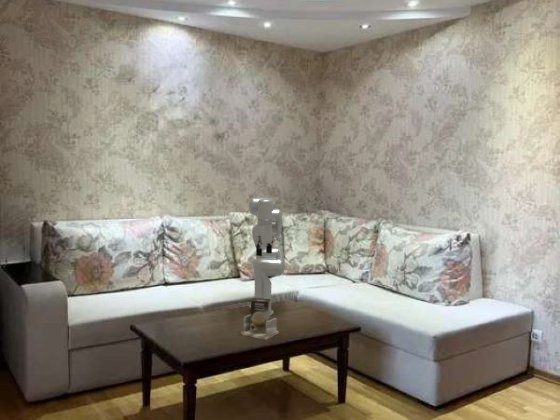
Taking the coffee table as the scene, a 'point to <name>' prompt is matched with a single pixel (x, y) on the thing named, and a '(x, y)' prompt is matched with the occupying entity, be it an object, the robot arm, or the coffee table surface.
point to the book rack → (270, 332)
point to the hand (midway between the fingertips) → (264, 254)
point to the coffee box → (259, 315)
